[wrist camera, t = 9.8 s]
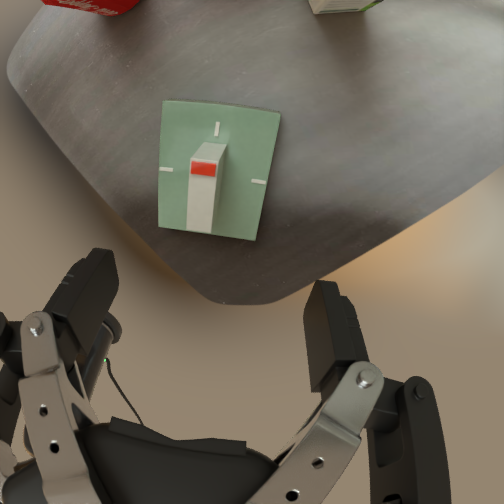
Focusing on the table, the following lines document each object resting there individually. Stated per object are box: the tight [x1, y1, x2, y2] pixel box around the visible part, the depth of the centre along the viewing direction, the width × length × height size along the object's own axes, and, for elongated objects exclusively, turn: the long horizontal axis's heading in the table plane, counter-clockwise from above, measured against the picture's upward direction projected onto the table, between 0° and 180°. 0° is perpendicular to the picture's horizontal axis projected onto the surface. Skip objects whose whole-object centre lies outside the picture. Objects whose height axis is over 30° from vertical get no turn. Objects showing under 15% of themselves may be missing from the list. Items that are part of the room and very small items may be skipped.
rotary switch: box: [158, 98, 281, 241], centre depth 27 cm, size 14×11×3 cm
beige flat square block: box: [186, 142, 227, 233], centre depth 24 cm, size 6×2×6 cm, turn 171°
